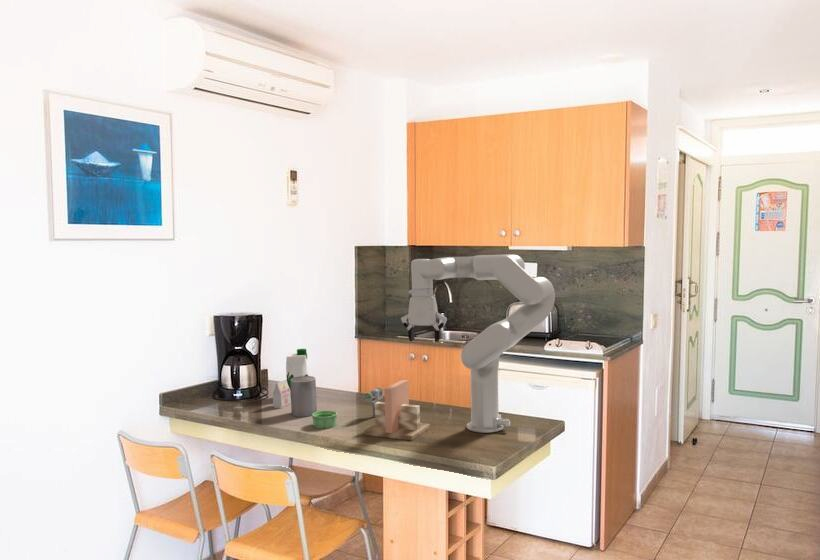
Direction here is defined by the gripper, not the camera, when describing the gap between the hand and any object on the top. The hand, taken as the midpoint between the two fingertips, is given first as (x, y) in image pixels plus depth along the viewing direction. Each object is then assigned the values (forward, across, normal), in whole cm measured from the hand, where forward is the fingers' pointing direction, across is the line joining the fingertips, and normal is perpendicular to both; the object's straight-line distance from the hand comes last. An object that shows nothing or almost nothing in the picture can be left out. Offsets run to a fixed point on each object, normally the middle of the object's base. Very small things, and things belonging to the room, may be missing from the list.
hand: (424, 340), depth 249 cm
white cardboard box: (+29, -64, +5) cm, 70 cm away
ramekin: (+29, -34, -15) cm, 47 cm away
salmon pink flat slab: (+28, -6, -14) cm, 32 cm away
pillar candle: (+29, -49, -3) cm, 57 cm away
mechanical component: (+29, -21, 0) cm, 36 cm away
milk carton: (+28, -66, +21) cm, 75 cm away
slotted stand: (+29, -6, -14) cm, 33 cm away
